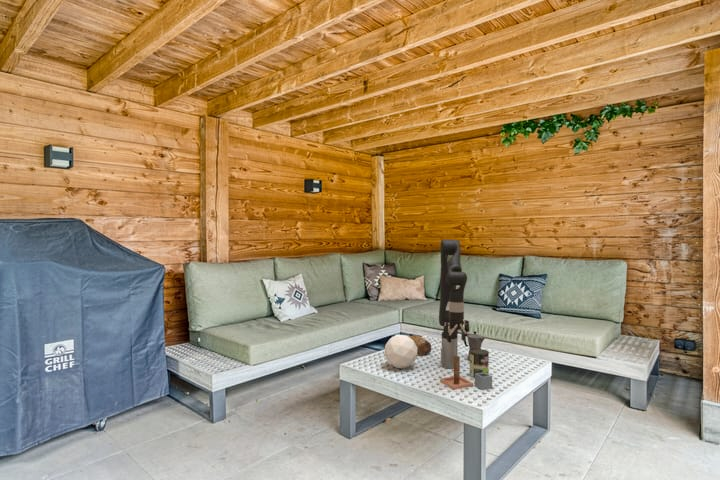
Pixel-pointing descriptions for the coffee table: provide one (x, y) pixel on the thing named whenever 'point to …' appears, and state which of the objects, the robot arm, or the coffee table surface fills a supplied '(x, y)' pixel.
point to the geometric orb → (401, 351)
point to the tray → (450, 383)
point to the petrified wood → (421, 345)
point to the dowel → (456, 370)
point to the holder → (483, 381)
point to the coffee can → (479, 361)
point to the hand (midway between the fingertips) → (456, 341)
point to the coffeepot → (474, 342)
